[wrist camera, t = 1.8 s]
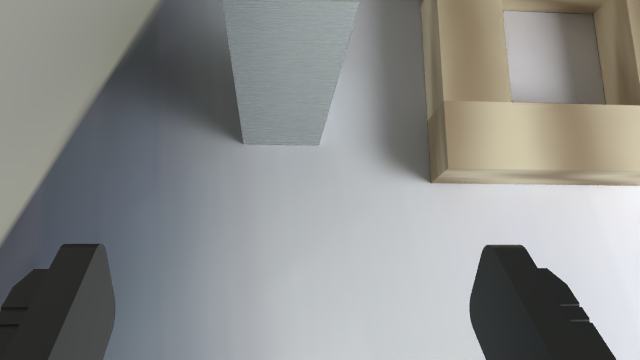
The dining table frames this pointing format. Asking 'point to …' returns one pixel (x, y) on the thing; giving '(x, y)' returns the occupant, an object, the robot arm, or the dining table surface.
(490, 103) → the well block
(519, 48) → the dining table surface
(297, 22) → the plain gray rectangular block
